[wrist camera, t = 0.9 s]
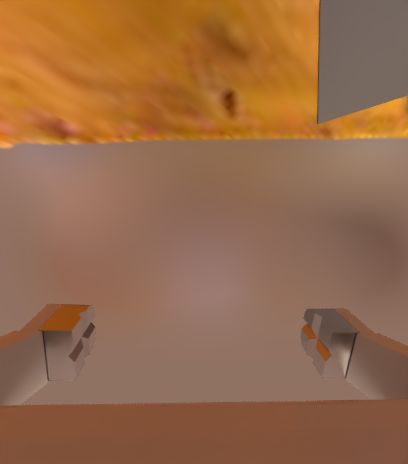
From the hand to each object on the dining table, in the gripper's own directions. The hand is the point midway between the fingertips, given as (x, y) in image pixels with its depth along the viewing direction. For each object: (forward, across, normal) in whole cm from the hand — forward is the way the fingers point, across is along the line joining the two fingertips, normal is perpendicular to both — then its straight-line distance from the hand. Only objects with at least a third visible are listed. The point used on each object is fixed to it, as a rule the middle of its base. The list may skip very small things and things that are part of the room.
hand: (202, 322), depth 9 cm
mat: (+42, -35, -31) cm, 63 cm away
